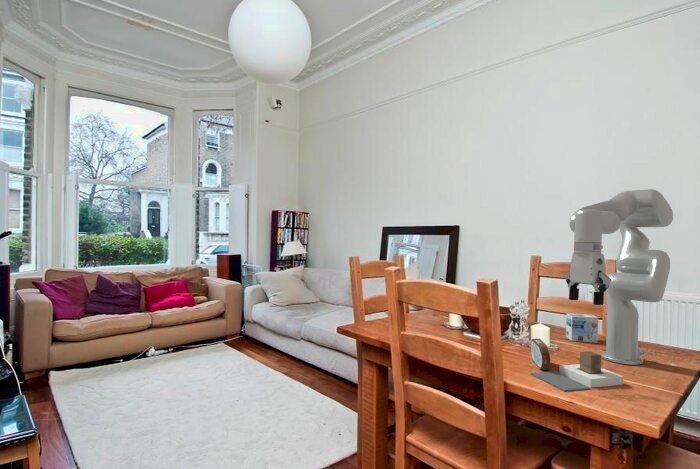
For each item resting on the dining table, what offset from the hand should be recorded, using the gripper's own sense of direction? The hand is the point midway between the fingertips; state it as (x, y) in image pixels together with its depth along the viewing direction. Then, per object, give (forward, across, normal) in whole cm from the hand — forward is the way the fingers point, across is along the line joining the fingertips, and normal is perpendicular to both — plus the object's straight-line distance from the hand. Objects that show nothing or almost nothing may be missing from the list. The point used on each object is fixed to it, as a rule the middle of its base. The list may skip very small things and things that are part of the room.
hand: (585, 302), depth 124 cm
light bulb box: (+22, +39, -36) cm, 57 cm away
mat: (+24, -2, +10) cm, 26 cm away
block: (+24, -2, -1) cm, 24 cm away
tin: (+24, +12, +6) cm, 27 cm away
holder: (+24, -2, -1) cm, 24 cm away
